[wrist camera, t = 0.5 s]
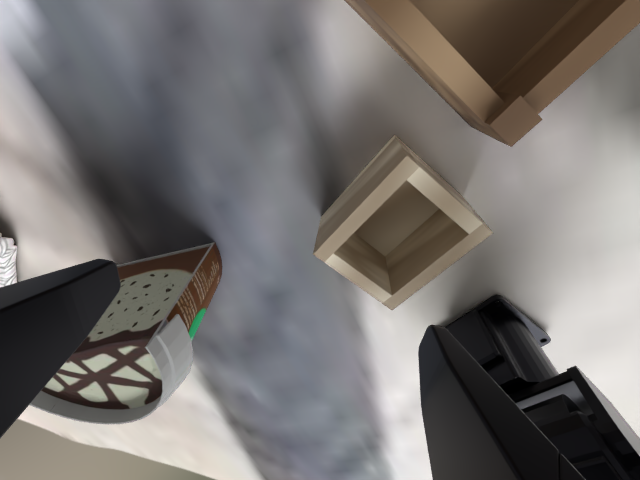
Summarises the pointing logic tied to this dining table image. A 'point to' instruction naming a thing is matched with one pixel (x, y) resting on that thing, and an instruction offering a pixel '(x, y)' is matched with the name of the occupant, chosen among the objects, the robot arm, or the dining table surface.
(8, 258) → the cookie jar
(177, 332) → the food container
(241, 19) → the dining table surface
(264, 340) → the dining table surface
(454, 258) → the pale crate
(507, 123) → the crate
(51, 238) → the dining table surface
